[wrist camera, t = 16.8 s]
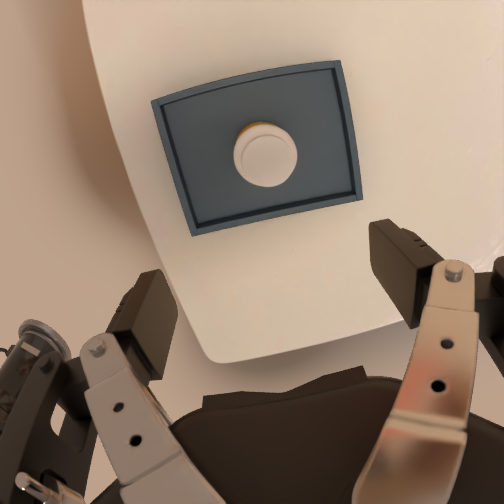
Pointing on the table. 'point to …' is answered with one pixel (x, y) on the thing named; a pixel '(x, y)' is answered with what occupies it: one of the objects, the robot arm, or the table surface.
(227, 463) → the robot arm
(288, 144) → the supplement bottle
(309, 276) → the table surface
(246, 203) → the tray
